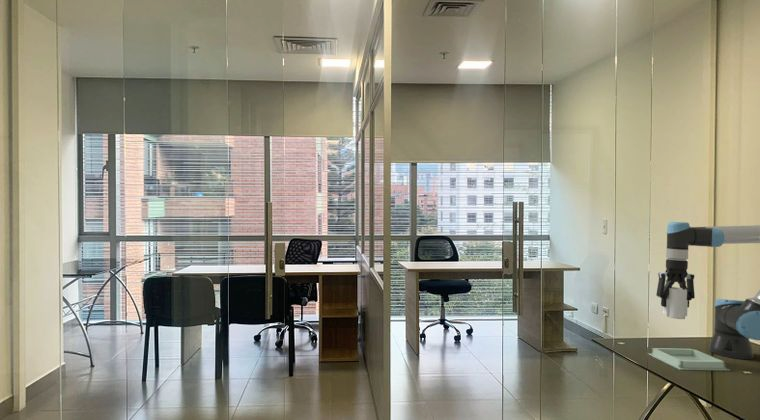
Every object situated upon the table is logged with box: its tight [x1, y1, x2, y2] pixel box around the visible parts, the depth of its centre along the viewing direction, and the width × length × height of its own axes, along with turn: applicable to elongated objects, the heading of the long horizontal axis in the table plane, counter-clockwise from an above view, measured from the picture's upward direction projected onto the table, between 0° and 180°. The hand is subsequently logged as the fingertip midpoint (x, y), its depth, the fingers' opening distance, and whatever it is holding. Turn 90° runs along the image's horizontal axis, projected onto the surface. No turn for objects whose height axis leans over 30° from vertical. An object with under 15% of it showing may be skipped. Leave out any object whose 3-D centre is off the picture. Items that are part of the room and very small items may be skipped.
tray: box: [647, 347, 731, 372], centre depth 177 cm, size 20×18×3 cm
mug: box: [666, 286, 687, 320], centre depth 184 cm, size 10×7×12 cm, turn 144°
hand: (674, 314), depth 184 cm, fingers closed on mug, 7 cm apart
